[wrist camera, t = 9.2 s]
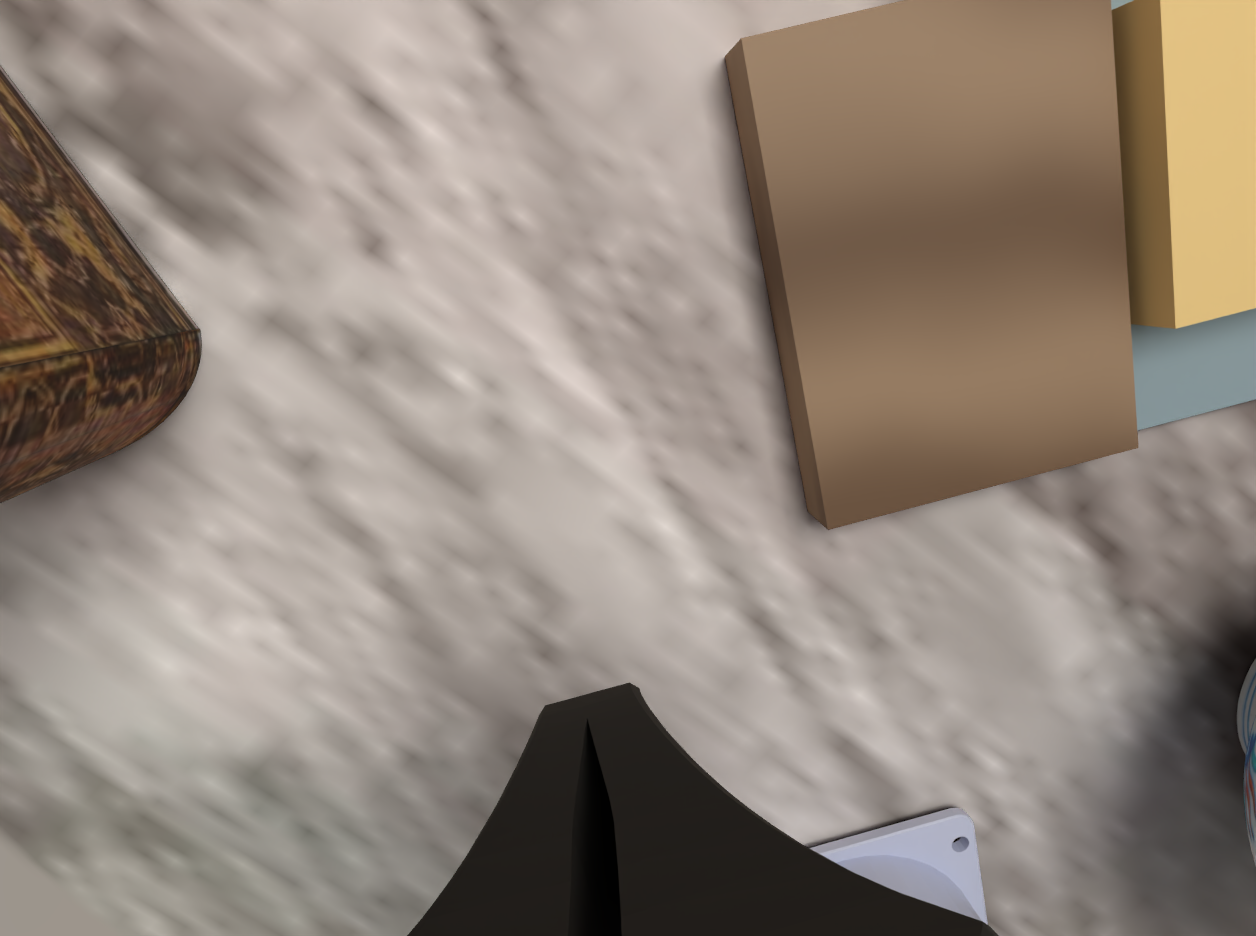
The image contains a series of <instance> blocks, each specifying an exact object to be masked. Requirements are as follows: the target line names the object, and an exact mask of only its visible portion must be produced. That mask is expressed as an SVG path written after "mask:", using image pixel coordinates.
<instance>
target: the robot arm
mask: <svg viewBox="0 0 1256 936" xmlns="http://www.w3.org/2000/svg"><path fill="white" fill-rule="evenodd" d="M958 837H961V838H960V839H959V840H958V841H956V842H953V841H954V840H955V839H956V838H958ZM407 936H998V935H997V934H996V933H995V931H994V930H993V929H992V928H991V927H990V926H989V925H988V923H987V916H986V908H985V901H984V894H983V887H982V879H981V872H980V865H979V858H978V850H977V843H976V836H975V829H974V824H973V821H972V819H971V818H970V816H969V815H968V814H967V813H966V812H965V811H964V810H963V809H960V808H949V809H946V810H942V811H939V812H935V813H932V814H928V815H925V816H921V817H918V818H914V819H911V820H907V821H904V822H900V823H896V824H893V825H889V826H886V827H882V828H879V829H875V830H872V831H868V832H865V833H861V834H858V835H854V836H851V837H847V838H844V839H840V840H837V841H833V842H829V843H826V844H822V845H819V846H815V847H812V848H808V847H806V846H804V845H802V844H801V843H799V842H797V841H796V840H794V839H793V838H791V837H790V836H788V835H787V834H785V833H784V832H782V831H781V830H779V829H778V828H776V827H774V826H773V825H771V824H770V823H769V822H767V821H766V820H764V819H763V818H762V817H760V816H759V815H758V814H756V813H755V812H753V811H752V810H751V809H749V808H748V807H747V806H745V805H744V804H743V803H742V802H740V801H739V800H738V799H736V798H735V797H734V796H733V795H732V794H730V793H729V792H728V791H727V790H726V789H724V788H723V787H722V786H721V785H720V784H719V783H718V782H717V781H715V780H714V779H713V778H712V777H711V776H710V775H709V774H708V773H707V772H705V771H704V770H703V769H702V768H701V767H700V766H699V765H698V764H697V763H696V762H695V761H694V760H693V759H692V758H691V757H690V756H689V755H688V754H687V753H686V751H685V750H684V749H683V748H682V747H681V746H680V745H679V744H678V743H677V742H676V741H675V740H674V739H673V738H672V736H671V735H670V734H669V733H668V732H667V731H666V729H665V728H664V727H663V726H662V724H661V723H660V722H659V720H658V719H657V718H656V717H655V715H654V714H653V713H652V711H651V710H650V708H649V707H648V705H647V704H646V702H645V700H644V698H643V697H642V695H641V692H640V689H639V688H638V687H636V686H634V685H633V684H631V683H627V684H623V685H619V686H616V687H612V688H608V689H605V690H601V691H597V692H594V693H590V694H586V695H582V696H579V697H575V698H571V699H568V700H564V701H560V702H557V703H553V704H549V705H545V707H544V708H543V710H542V712H541V713H540V715H539V717H538V719H537V722H536V724H535V727H534V729H533V731H532V733H531V736H530V738H529V740H528V743H527V745H526V747H525V749H524V751H523V753H522V756H521V758H520V760H519V762H518V764H517V766H516V768H515V770H514V772H513V774H512V776H511V778H510V780H509V782H508V784H507V786H506V788H505V790H504V792H503V794H502V796H501V798H500V799H499V801H498V803H497V805H496V807H495V809H494V811H493V812H492V814H491V816H490V817H489V819H488V821H487V822H486V824H485V826H484V828H483V829H482V831H481V833H480V834H479V836H478V838H477V839H476V841H475V843H474V844H473V846H472V848H471V849H470V851H469V853H468V854H467V856H466V858H465V859H464V861H463V862H462V864H461V865H460V867H459V868H458V870H457V871H456V873H455V874H454V876H453V877H452V879H451V880H450V882H449V883H448V884H447V886H446V887H445V888H444V890H443V891H442V893H441V894H440V895H439V897H438V898H437V899H436V901H435V902H434V903H433V905H432V906H431V907H430V909H429V910H428V911H427V913H426V914H425V915H424V916H423V918H422V919H421V920H420V921H419V923H418V924H417V925H416V926H415V927H414V928H413V930H412V931H411V932H410V933H409V934H408V935H407Z"/></svg>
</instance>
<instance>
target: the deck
mask: <svg viewBox="0 0 1256 936" xmlns="http://www.w3.org/2000/svg"><path fill="white" fill-rule="evenodd" d="M725 61H726V66H727V72H728V77H729V83H730V88H731V94H732V99H733V105H734V110H735V116H736V121H737V127H738V132H739V138H740V143H741V149H742V154H743V159H744V165H745V170H746V176H747V181H748V187H749V192H750V198H751V203H752V209H753V214H754V220H755V225H756V231H757V236H758V242H759V247H760V252H761V258H762V263H763V269H764V274H765V280H766V285H767V291H768V296H769V302H770V307H771V313H772V318H773V324H774V329H775V335H776V340H777V346H778V351H779V356H780V362H781V367H782V373H783V378H784V384H785V389H786V395H787V400H788V406H789V411H790V417H791V422H792V428H793V433H794V439H795V444H796V450H797V455H798V460H799V466H800V471H801V477H802V482H803V488H804V493H805V499H806V504H807V510H808V512H809V513H810V514H811V515H812V516H814V517H815V518H816V519H817V520H818V521H819V522H820V523H821V524H822V525H823V526H824V527H826V528H827V529H828V530H829V529H833V528H837V527H841V526H844V525H848V524H852V523H856V522H860V521H863V520H867V519H871V518H875V517H879V516H882V515H886V514H890V513H894V512H897V511H901V510H905V509H909V508H913V507H916V506H920V505H924V504H928V503H931V502H935V501H939V500H943V499H947V498H950V497H954V496H958V495H962V494H965V493H969V492H973V491H977V490H981V489H984V488H988V487H992V486H996V485H999V484H1003V483H1007V482H1011V481H1015V480H1018V479H1022V478H1026V477H1030V476H1033V475H1037V474H1041V473H1045V472H1049V471H1052V470H1056V469H1060V468H1064V467H1067V466H1071V465H1075V464H1079V463H1083V462H1086V461H1090V460H1094V459H1098V458H1102V457H1105V456H1109V455H1113V454H1117V453H1120V452H1124V451H1128V450H1132V449H1136V448H1138V433H1137V417H1136V400H1135V384H1134V368H1133V352H1132V335H1131V319H1130V303H1129V286H1128V270H1127V254H1126V237H1125V221H1124V205H1123V189H1122V172H1121V156H1120V140H1119V123H1118V107H1117V91H1116V75H1115V58H1114V42H1113V26H1112V9H1111V0H904V1H899V2H895V3H891V4H887V5H882V6H878V7H874V8H869V9H865V10H861V11H857V12H852V13H848V14H844V15H839V16H835V17H831V18H827V19H822V20H818V21H814V22H809V23H805V24H801V25H797V26H792V27H788V28H784V29H780V30H775V31H771V32H767V33H762V34H758V35H754V36H750V37H745V38H741V39H740V40H739V42H738V43H737V44H736V45H735V46H734V47H733V48H732V49H731V50H730V51H729V53H728V54H727V55H726V56H725Z"/></svg>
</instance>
